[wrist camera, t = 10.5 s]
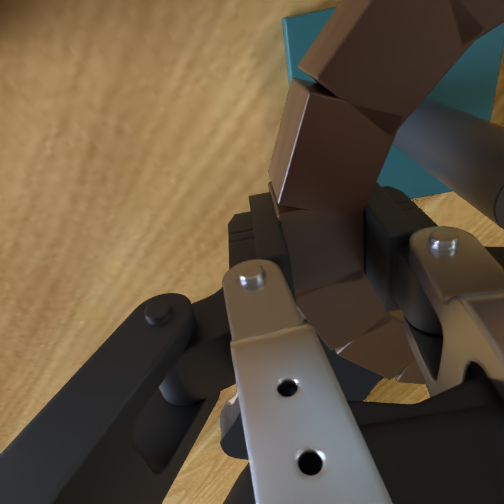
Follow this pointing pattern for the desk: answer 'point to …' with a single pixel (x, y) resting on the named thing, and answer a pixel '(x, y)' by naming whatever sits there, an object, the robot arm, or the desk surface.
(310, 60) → the ring
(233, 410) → the black board eraser
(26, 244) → the desk surface
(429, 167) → the post stand
